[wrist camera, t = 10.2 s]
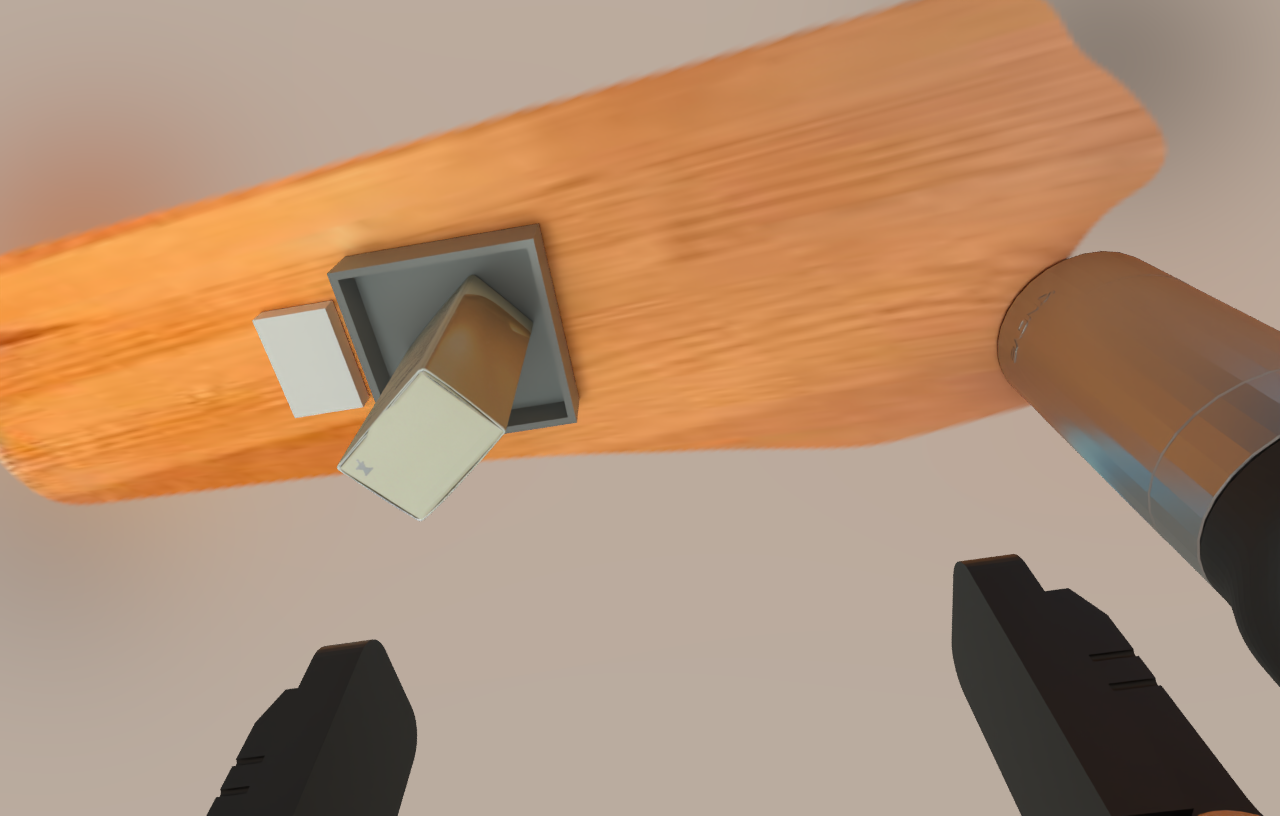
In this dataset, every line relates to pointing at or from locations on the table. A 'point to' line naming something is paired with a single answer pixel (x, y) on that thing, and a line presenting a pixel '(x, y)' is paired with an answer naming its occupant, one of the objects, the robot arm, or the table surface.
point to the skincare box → (443, 402)
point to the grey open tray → (420, 324)
